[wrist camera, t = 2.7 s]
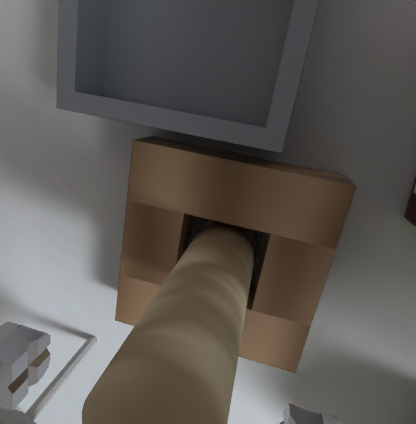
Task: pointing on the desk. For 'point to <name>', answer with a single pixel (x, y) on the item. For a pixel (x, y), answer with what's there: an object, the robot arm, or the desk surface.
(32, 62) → the desk surface
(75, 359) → the lollipop
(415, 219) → the protein box
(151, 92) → the tray
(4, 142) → the desk surface
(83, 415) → the dowel
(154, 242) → the socket block
